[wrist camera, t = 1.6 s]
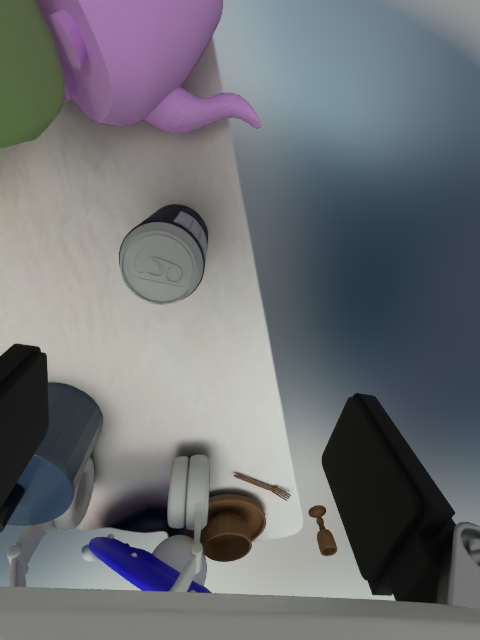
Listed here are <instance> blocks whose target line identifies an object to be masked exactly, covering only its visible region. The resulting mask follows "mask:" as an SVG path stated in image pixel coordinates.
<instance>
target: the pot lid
mask: <svg viewBox="0 0 480 640" xmlns="http://www.w3.org/2000/svg"><path fill="white" fill-rule="evenodd" d="M74 495H75V485H74V482H73V479H72V477H71V475H70V474H69V472H68V471H67V470H66V469H65V468H64V467H63V466H62V465H61V464H60V463H59V462H58V461H56V460H55V459H53V458H52V457H50V456H48V455H46V454H44V453H42V452H40V451H36V452H35V454H34V455H33V457H32V459H31V460H30V462H29V463H28V465H27V467H26V468H25V470H24V471H23V473H22V475H21V476H20V478H19V479H18V481H17V483H16V484H15V486H14V487H13V489H12V491H11V492H10V494H9V495H8V497H7V499H6V500H5V502H4V503H3V505H2V507H1V508H0V532H2V531H3V530H4V528H5V526H6V525H7V524H8V525H17V526H29V525H38V524H43V523H46V522H50V521H52V520H54V519H56V518H58V517H60V516H61V515H62V514H64V513H65V512H66V511H67V510H68V509H69V507H70V505H71V504H72V501H73V499H74Z"/></svg>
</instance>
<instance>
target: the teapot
mask: <svg viewBox="0 0 480 640" xmlns="http://www.w3.org/2000/svg"><path fill="white" fill-rule="evenodd" d="M36 2H37V4H38V6H39V8H40V11H41V13H42V15H43V17H44V19H45V21H46V24H47V26H48V28H49V30H50V32H51V34H52V36H53V39H54V42H55V45H56V48H57V51H58V54H59V57H60V61H61V64H62V70H63V75H64V83H65V96H64V98H65V99H66V100H68V101H71V99H73V100H74V102H75V103H76V104H77V106H78V107H79V108H80V109H81V110H82V111H83V112H84V113H85V114H86V115H87V116H88V117H89V118H90V119H91V120H93V121H95V122H98V123H103V124H108V125H115V126H128V125H133V124H136V123H138V122H140V121H141V120H144V121H146V122H148V123H149V124H151V125H153V126H154V127H156V128H158V129H160V130H163V131H166V132H170V133H186V132H191V131H194V130H197V129H199V128H202V127H204V126H206V125H208V124H210V123H213V122H215V121H217V120H220V119H224V118H231V117H234V118H238V119H242V120H243V121H245V122H247V123H249V124H250V125H251V126H253V127H255V128H257V129H258V128H260V126H261V124H260V121H259V118H258V117H257V115H256V113H255V112H254V110H253V108H252V107H251V106H250V104H249V103H248V102H247V101H246V100H245V99H244V98H242V97H241V96H239V95H236V94H234V93H221V94H218V95H215V96H212V97H208V98H200V97H196V96H194V95H192V94H190V93H189V92H188V91H186V90H185V89H184V88H182V87H181V85H182V84H183V83H184V81H185V80H186V78H187V77H188V75H189V74H190V72H191V71H192V69H193V68H194V66H195V65H196V63H197V61H198V60H199V58H200V56H201V55H202V53H203V51H204V49H205V48H206V46H207V44H208V42H209V41H210V39H211V37H212V35H213V33H214V31H215V29H216V27H217V25H218V23H219V21H220V18H221V14H222V7H223V0H36Z"/></svg>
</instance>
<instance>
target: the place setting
mask: <svg viewBox="0 0 480 640" xmlns="http://www.w3.org/2000/svg"><path fill="white" fill-rule="evenodd" d="M234 476H235V477H237V478H239V479H241V480H244V481H246V482H249V483H251V484H254V485H256V486H259V487H262V488H264V489H267V490H270V491H272V492H273V493H275V492H277V491H279V492H281V491H283V492H285V491H284V490H282V489H280V488H278V487H274V488H270V487H267V486H265V485H262V484H260V483H257V482H255V481H252V480H250V479H247V478H245V477H242V476H239V475H234ZM278 489H280V490H281V491H280V490H278ZM276 490H277V491H276ZM279 492H277V493H278V494H280V495H282V494H284V493H283V492H281V493H282V494H281V493H279ZM277 493H275V494H276V495H278V494H277ZM285 493H286V494H288V493H287V492H285ZM286 494H284V495H286ZM280 495H278V496H280ZM284 495H282V496H283V497H285V496H284ZM288 495H289V496H291V495H290V494H288ZM282 496H280V497H281V498H283V497H282ZM286 496H287V495H286ZM289 496H287V497H289ZM287 497H285V498H287ZM285 498H283V499H284V500H286V499H285ZM289 498H290V497H289ZM287 499H288V498H287ZM286 501H287V500H286ZM325 513H326V508H325V507H323V506H314V507H312V508H311V509H310V510H309V515H310V516H311V517H315V518H317V523H318V525H319V528H320V531H319V532H318V534H317V541H318V545H319V549H320V552H321V554H322V555H324V556H331V555H333V554H335V553H336V552H337V547H336V543H335V540H334V538H333V535H332V533H331V532H330V531H329V530H327V529H325V527H324V521H323V519H322V517H321V516H323V515H324V514H325ZM265 525H266V518H265V514H264V512H263V509H262V508H261V507H260V505H259V504H258V503H257V502H255V501H254V500H252V499H250V498H248V497H246V496H242V495H237V494H222V495H216V496H213V497H210V498H209V506H208V518H207V525H206V526H205V527H204V528H203V529H201V534H200V543H201V544H202V546H203V552H204V554H205V555H206V556H207V557H208V558H210V559H212V560H215V561H221V562H228V561H234V560H237V559H240V558H242V557H244V556H245V555H246V554H248V553H249V551H250V549H251V547H252V543H251V541H253V540H254V539H256V538H257V537H258V536H259V535H260V534H261V533H262V532H263V530H264V528H265ZM186 529H187V528H186ZM187 533H188V535H189V536H190V537H191V538H193V539H194V530H190V529H187Z"/></svg>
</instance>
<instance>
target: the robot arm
mask: <svg viewBox="0 0 480 640" xmlns="http://www.w3.org/2000/svg"><path fill="white" fill-rule="evenodd" d="M48 427H49V409H48V379H47V356H46V354H45V353H42V352H41V350H40V348H39V347H36V346H29V345H23V344H14V345H13V346H11V347H10V348H9V349H8V350H7V351H6V352H5V353H4V354H2V355H1V356H0V508H1V507H2V505H3V503H4V502H5V500H6V499H7V497H8V495H9V494H10V492H11V491H12V489H13V487H14V486H15V484H16V483H17V481H18V479H19V478H20V476H21V475H22V473H23V471H24V470H25V468H26V467H27V465H28V463H29V462H30V460H31V459H32V457H33V455H34V454H35V452H36V451H37V449H38V447H39V446H40V444H41V443H42V441H43V439H44V438H45V436H46V434H47V431H48ZM322 466H323V469H324V472H325V475H326V477H327V480H328V483H329V486H330V489H331V491H332V494H333V497H334V500H335V502H336V505H337V508H338V511H339V514H340V517H341V519H342V522H343V525H344V527H345V531H346V534H347V536H348V539H349V542H350V545H351V548H352V550H353V553H354V556H355V559H356V562H357V564H358V567H359V570H360V573H361V575H362V577H363V578H364V579H365V580H367V581H368V583H369V586H370V589H371V592H372V594H373V595H389V596H390V595H392V594H393V595H394V597H395V600H396V601H387V600H369V599H345V598H322V597H298V596H297V597H296V596H273V595H246V594H220V593H192V592H164V591H134V590H131V591H130V590H101V589H69V588H36V587H34V588H33V587H0V640H480V526H478V525H476V524H473V523H469V522H460V523H459V524H457V525H456V524H455V523H454V521H453V520H452V516H453V515H454V514H455V512H454V510H453V509H452V507H451V506H450V504H449V503H448V501H447V500H446V498H445V497H444V495H443V494H442V493H441V491H440V490H439V488H438V487H437V485H436V484H435V482H434V481H433V480H432V479H431V477H430V475H429V474H428V472H427V471H426V469H425V468H424V466H423V465H422V464H421V462H420V461H419V459H418V458H417V456H416V455H415V453H414V452H413V451H412V449H411V448H410V446H409V445H408V443H407V442H406V441H405V439H404V438H403V436H402V435H401V433H400V432H399V430H398V429H397V427H396V426H395V425H394V423H393V422H392V420H391V419H390V417H389V416H388V415H387V413H386V412H385V410H384V408H383V407H382V406H381V404H380V403H379V401H378V400H377V398H376V397H375V396H372V395H366V394H359V393H357V394H354V395H353V397H350V398H348V400H347V402H346V404H345V406H344V409H343V411H342V413H341V415H340V417H339V419H338V422H337V424H336V426H335V428H334V431H333V433H332V435H331V437H330V439H329V442H328V444H327V446H326V448H325V450H324V452H323V455H322Z"/></svg>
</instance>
